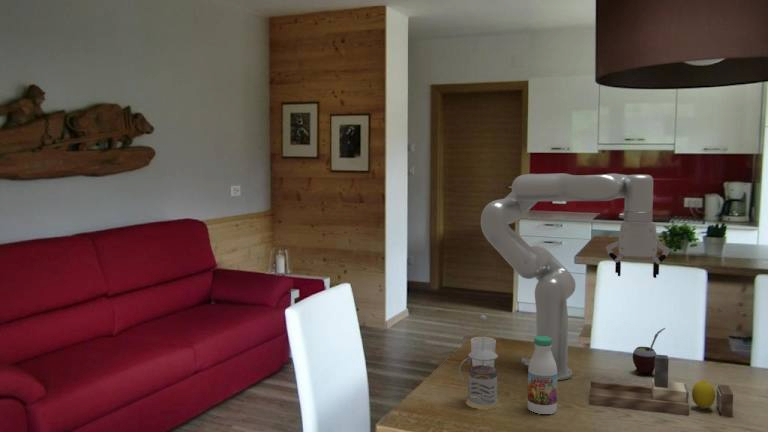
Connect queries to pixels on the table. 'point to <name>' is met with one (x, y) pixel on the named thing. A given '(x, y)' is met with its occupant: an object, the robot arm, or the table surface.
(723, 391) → the open brown box
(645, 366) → the mate gourd
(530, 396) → the milk bottle
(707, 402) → the lemon
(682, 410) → the press bed
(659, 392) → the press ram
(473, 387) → the french press
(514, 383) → the table surface
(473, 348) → the translucent flanged cylinder
